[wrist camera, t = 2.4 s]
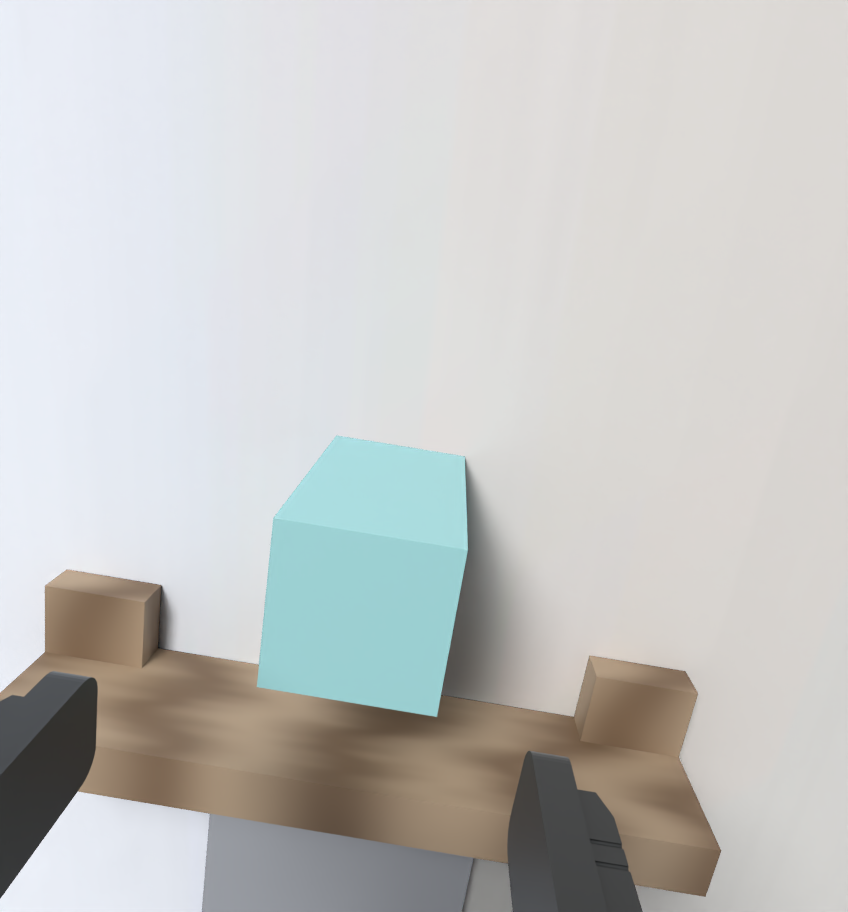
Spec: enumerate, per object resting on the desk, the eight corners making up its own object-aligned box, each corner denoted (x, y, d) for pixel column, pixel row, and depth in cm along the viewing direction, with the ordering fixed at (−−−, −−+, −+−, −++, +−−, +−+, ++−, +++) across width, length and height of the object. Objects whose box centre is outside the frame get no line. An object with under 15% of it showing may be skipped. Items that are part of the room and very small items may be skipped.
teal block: (464, 456, 25) (468, 549, 17) (444, 573, 27) (436, 717, 18) (336, 435, 25) (273, 517, 17) (322, 553, 27) (256, 686, 18)
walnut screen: (685, 671, 27) (746, 777, 22) (639, 826, 29) (683, 961, 24) (66, 569, 28) (-38, 647, 22) (65, 731, 30) (-30, 841, 24)
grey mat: (483, 800, 29) (483, 811, 29) (440, 997, 33) (440, 1010, 32) (218, 756, 30) (213, 766, 29) (201, 957, 33) (197, 969, 32)
